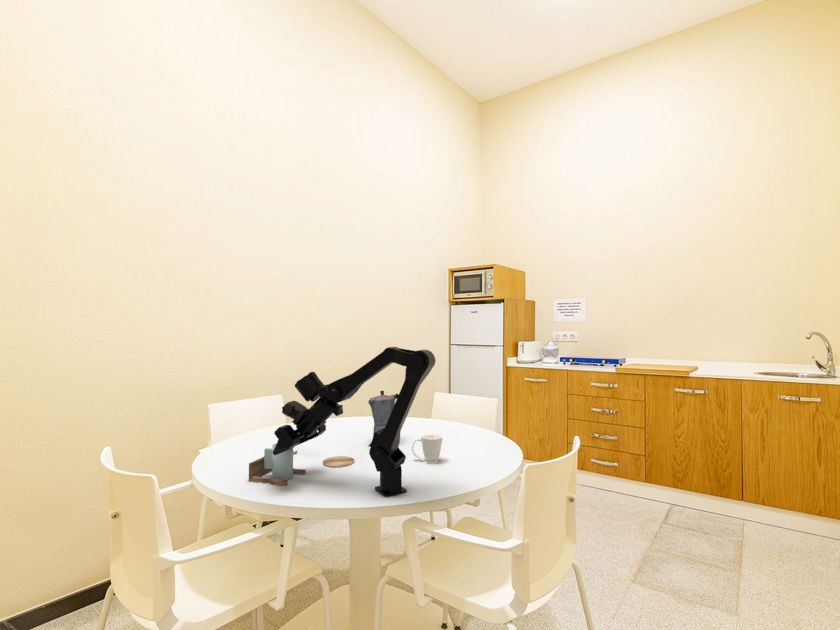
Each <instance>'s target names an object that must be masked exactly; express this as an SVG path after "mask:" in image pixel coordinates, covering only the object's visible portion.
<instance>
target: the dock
mask: <svg viewBox="0 0 840 630" xmlns="http://www.w3.org/2000/svg"><path fill="white" fill-rule="evenodd" d="M270 473H272V469H265V468H264V456H263V457H260V458H258V459H256V460H253V461H251V462H249V463H248V482H250V481H253V482H252V483H258V482H262V483H261V484H266V483H270V484H269V485H274V484H275V485H276V486H284V487H286V486H288V483H289V482H288V481H289V480H281V479H273V478H272V477H265V474H266V475H268V474H270ZM306 474H307V469H302V468H296V467H295V468H294V467H293V475H301V476H302V475H303V476H304V475H306ZM263 475H264V476H263ZM261 476H262V477H261Z"/></svg>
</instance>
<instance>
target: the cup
mask: <svg viewBox="0 0 840 630" xmlns="http://www.w3.org/2000/svg"><path fill="white" fill-rule="evenodd" d="M417 441H418V442H421V445H422V452H423V455H424V456H423V457H424V459H423V458H421V457H420V456H419V455H417V454H416V453H415V452H414V445H415V443H416V442H417ZM442 443H443V436H442V435H440V434H434V433H429V434H423V435H421V436H420V438H416V439H415V440H414V441H413V442H412V446H411V451H412V454H413V455H414V457H416V458H417V459H418V460H420V461H422V462H425V463H426V464H430V463H431V464H432V463H433V464H437V463H439V460H438V459H440V454H441V449H442Z"/></svg>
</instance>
